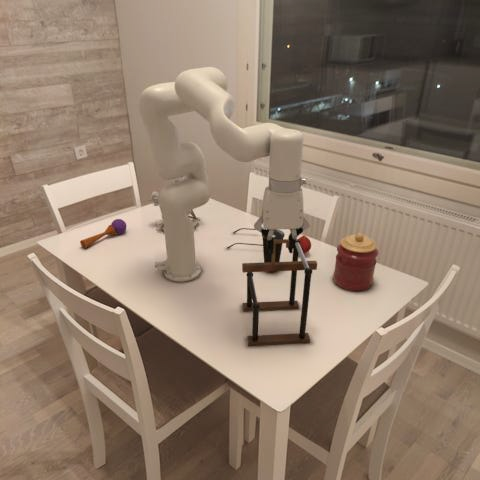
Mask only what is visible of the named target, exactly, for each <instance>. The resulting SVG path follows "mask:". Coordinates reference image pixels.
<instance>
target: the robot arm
mask: <svg viewBox="0 0 480 480" xmlns="http://www.w3.org/2000/svg"><path fill="white" fill-rule="evenodd" d="M235 108H236V101H235V98H234V96H233V95H232V94H231V93H230V92H228V79H227V78H226V75H225V73H223V71H222V70H220V69H219V68H217V67H215V66H205V67H197V68H189V69H185V70H183V71H182V72H181V73H179V74H178V75H177V76H176V78H175V81H170V82H163V83H162V82H161V83H157V84H153V85H150V86H148V87H146V88H145V89H144V90H143V91H142V92H141V94H140V97H139V101H138V109H139V113H140V117H141V120H142V122H143V124H144V127H145V129H146V131H147V134H148V138H149V144H150V148H151V152H152V157H153V161H154V166H155V170H156V172H157V175H158V176H159V178H160V179H162V180H165V181H171V180H175V179H176V178H179V177H182V176H183V177H185V179H186V180H184V179H183V181H179V182H176V183H175V182H173V183H170V184H168V185H165V186H164V187H161V188H162V189H161V188H160V189H161V190H160V189H159V190H160V192H159V191H158V193H159V194H158V203H159V205H158V206H159V209H160V213H161V218H162V217H163V219H162V221H163V223H164V231H163V232H164V240H165V250H166V260H164V261H154V268H157V271H163V275H164V277H165V278H166V279H167V280H170V281H173V282H178V283H179V282H183V283H184V282H189V281H192V280H195V279H196V278H198V277H199V276H200V275H201V271H202V269H201V266H200V265H199V264H198V263H197V262H196V261H197V260H196V245H195V244H196V243H195V242H196V241H195V230H194V228H195V226H194V227H193V223H192V221H191V220H192V218H189V217H188V216H189V215H188V216H187V212H188V211H191V210H192V209H193V210H195V209H198V208H200V207H203V206H204V205H206V204H207V203H208V202H209V201H210V198H211V187H210V186H211V185H210V181H209V175H208V169H207V163H206V158H205V154H204V152H203V150H202V149H201V147H200V146H199V145H197V143H195V142H191V141H186V142H181V143H180V137H179V133H178V130H177V127H176V125H175V124H174V123H173V122H172V120H171V119H170V118H169V117H171V116H177V115H182V114H187V113H192V112H195V113H196V114H198V115H199V116H200V117H202V118H203V119H204V120H205V121H206V122H208V123H209V129H210V133H211V135H212V138H213V140H214V142H215V143H216V145H217V146H218V147H219V148H220V149H221V150H222V151H223V152H225V153H226V154H227V155H228V156H230V157H231V158H232V159H234V160H236V161H238V162H242V163H250V162H252V161H253V162H254V161H256V160H259V159H261V158H267V157H269V162H268V163H269V164H268V166H269V167H268V186H266V187H265V188H264V192H263V197H262V204H261V205H262V206H261V215H260V216H259V218H258V219H257V220H256V221H255V222H254V224H253V229H256V230H255V231H257V232H259V233H261V235H262V234H263V235H264V236H265V237H266V238H267V250H269V251H270V254H272V253H273V246H274V240H273V237H272V236H273V233H274V229H277V230H289V231H290V233H289V235H288V238H287V239H289V240H290V244H289V248H287V249H288V253H289V254H293V249H295V239H298V237H299V236H300V235H301V234H302V233H303V232H305V231H306V230H307V229H309V228H310V227H311V224H310V222H309V221H308V219H307V218H306V217H305V214H304V193H303V188H302V187H301V186H303V185H307V178H304V177H302V164H303V151H304V135H303V133H302V131H300V130H297V129H293V128H285V127H284V126H281V125H279V124H276V123H274V122H262V123H259V124H255V125H251V126H247V127H243V128H241V127H240V126H239V125H237V124H236V123H235V122H233V121H232V120H231V117H232V116H233V114H234V111H235ZM262 225H263V226H262Z"/></svg>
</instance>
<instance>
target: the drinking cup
mask: <svg viewBox="0 0 480 480" xmlns="http://www.w3.org/2000/svg"><path fill="white" fill-rule="evenodd" d="M285 236H286V235H285V232H284V231H283V230H281V229H274V233H273V236H272V237H273V240H281V239H284V237H285ZM261 237H262V245H263V246H262V251H263V253H262V254H263V263H264V262H272V254H270V251H269V250H267V238H266V237H265V236H264V235H263V234H262V233H261ZM282 248H283V243H278V244H276V249H275V262H281V255H282ZM277 272H278V271H270V272H269V273H271V274H273V273H277Z"/></svg>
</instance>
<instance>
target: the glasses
mask: <svg viewBox="0 0 480 480" xmlns="http://www.w3.org/2000/svg"><path fill="white" fill-rule="evenodd" d="M241 230H250V231H257V230H256V229H255V228H246V227H243V228H238V229H236V230H234V231H232V232H233V234H236V233H237V232H239V231H241ZM235 245H247V246H260V247H261V246H262V247H263V244H261V243H260V244H258V243H244V242H235V243H233V244H231V245H229V246H227V247H226V248H227V249H230V248H231V247H233V246H235Z"/></svg>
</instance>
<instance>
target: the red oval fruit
mask: <svg viewBox="0 0 480 480" xmlns="http://www.w3.org/2000/svg"><path fill="white" fill-rule="evenodd" d="M297 239H298V240H299V241H300V246H301V249H302V251H303V254H304V255H305V254H307V253H308V252H310V251H311V249H312V242H311V240H310V239H309V237H307V236H306V234H303V235H302V236H300V237H298V238H297Z"/></svg>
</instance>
